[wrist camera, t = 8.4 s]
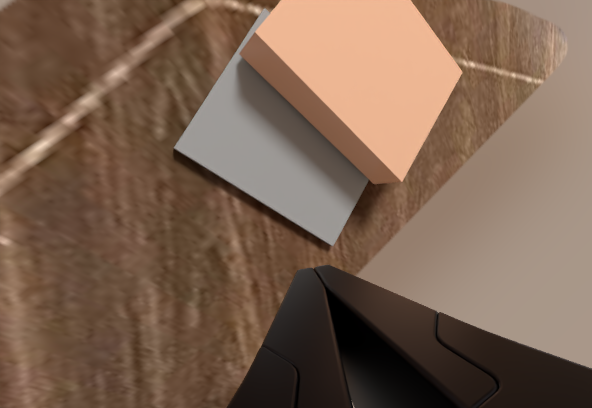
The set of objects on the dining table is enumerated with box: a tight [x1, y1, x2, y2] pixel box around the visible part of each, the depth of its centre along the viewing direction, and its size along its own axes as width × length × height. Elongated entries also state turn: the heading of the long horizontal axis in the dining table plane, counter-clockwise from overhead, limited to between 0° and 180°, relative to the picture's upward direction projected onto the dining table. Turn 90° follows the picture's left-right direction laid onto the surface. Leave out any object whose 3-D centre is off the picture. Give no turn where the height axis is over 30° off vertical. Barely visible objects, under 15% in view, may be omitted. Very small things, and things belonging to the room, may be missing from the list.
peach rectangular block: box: [239, 0, 462, 184], centre depth 19 cm, size 2×11×9 cm
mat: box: [174, 8, 369, 246], centre depth 19 cm, size 9×11×1 cm
